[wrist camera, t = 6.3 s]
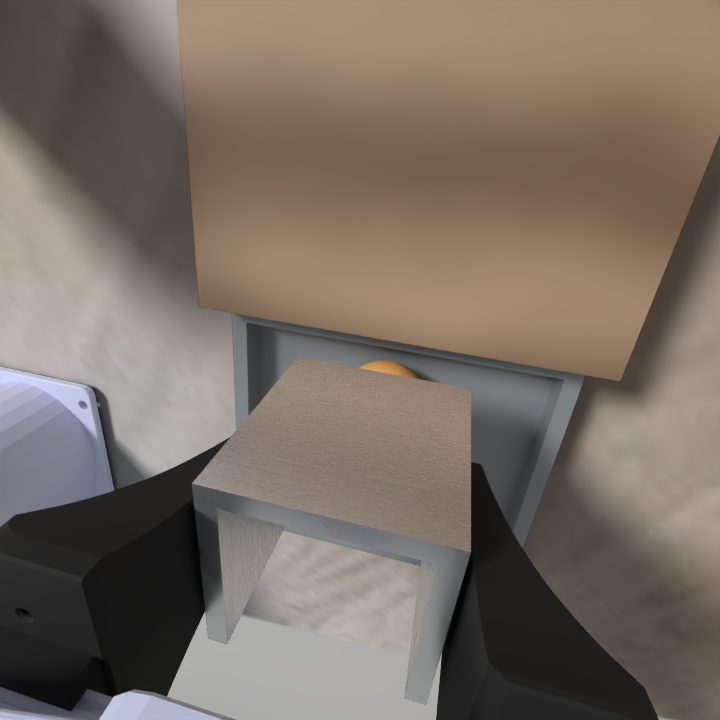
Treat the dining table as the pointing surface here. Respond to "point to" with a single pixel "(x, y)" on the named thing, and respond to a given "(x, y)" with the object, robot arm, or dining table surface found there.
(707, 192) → the dining table surface
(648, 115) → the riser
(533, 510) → the tray
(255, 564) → the grey arch
